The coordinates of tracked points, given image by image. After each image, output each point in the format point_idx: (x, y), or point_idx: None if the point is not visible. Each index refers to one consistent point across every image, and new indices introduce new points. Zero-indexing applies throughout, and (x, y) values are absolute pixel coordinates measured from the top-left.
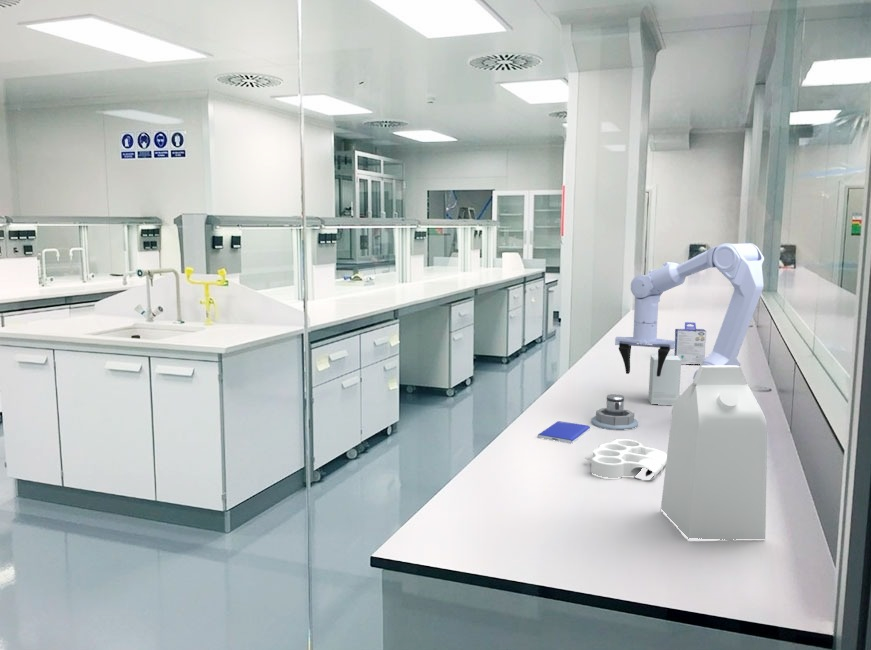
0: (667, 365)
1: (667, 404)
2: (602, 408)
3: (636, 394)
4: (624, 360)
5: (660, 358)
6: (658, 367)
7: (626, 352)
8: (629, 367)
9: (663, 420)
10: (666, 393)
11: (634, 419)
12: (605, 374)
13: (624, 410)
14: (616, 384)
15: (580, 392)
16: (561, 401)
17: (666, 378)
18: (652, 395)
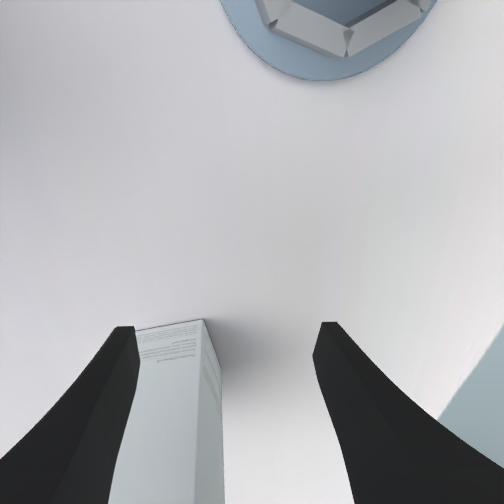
0: (126, 488)
1: (151, 330)
2: (423, 8)
3: (257, 392)
4: (400, 395)
5: (36, 468)
6: (100, 377)
7: (442, 477)
8: (327, 375)
9: (110, 122)
10: (149, 361)
11: (233, 8)
12: (331, 482)
13: (298, 5)
14: (309, 440)
15: (410, 358)
16: (495, 252)
17: (141, 418)
18: (199, 344)
